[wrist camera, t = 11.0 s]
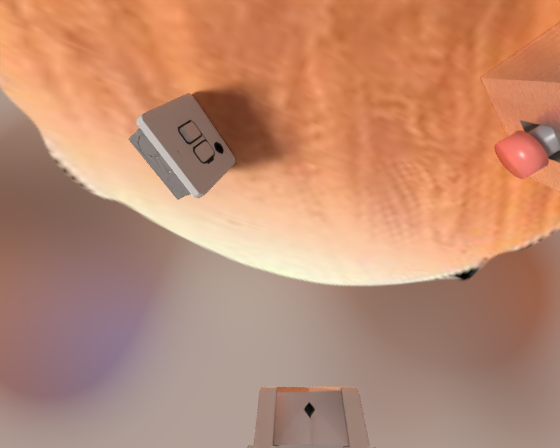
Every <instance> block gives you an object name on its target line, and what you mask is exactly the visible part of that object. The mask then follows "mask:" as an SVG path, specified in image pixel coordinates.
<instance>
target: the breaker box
mask: <svg viewBox="0 0 560 448" xmlns="http://www.w3.org/2000/svg"><path fill="white" fill-rule="evenodd" d="M480 79H481V81H482V83H483V85H484V87H485V89H486V92H487V94H488V96H489V98H490V100H491V102H492V104H493V107H494V109H495V111H496V113H497V115H498V117H499V119H500V122H501V124H502V126H503V128H504V130H505V132H506V134H507V136H510V135H511V134H513V133H514V132H516V131H524V132H526V133H528V132H530V131H531V130H533V129H534V128H536V127H538V126H539V125H543V126H547V127H552V129H553V131H554V134H555V136H556V139H557V141H558V144H559V146H560V22H559V23H558V24H556V25H555V26H553V27H552V28H551V29H549V30H548V31H546V32H545V33H543V34H542V35H541V36H539V37H538V38H536V39H535V40H533V41H532V42H531V43H529V44H528V45H526V46H525V47H524V48H522V49H521V50H519V51H518V52H516V53H515V54H514V55H512V56H511V57H509V58H508V59H506V60H505V61H504V62H502V63H501V64H499V65H498V66H497V67H495V68H494V69H492V70H491V71H489V72H488V73H487V74H485V75H484V76H482V77H481V78H480ZM548 159H549V163H548V165H547V166H546V167H544V168H543V169H541V170H539V171H537V172H536V173H534V174H532V175H530V176H529V178H531V179H533V180H535V181H537V182H539V183H542V184H544V185H546V186H548V187H550V188H552V189H554V190H556V191H558V192H560V150H559V151H557V152H555V153H554V154H552V155H550V156H549V157H548Z"/></svg>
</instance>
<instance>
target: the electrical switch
mask: <svg viewBox="0 0 560 448" xmlns="http://www.w3.org/2000/svg"><path fill="white" fill-rule="evenodd" d="M136 123H137V125H138V126H139V127H140V128H139V129H138V130H137V131H136V133H135V134H134V135H132V136H131V137H130V138H129V140H130V142H131V143H132V144H133V145H134V147H135V148H136V149H137V150H138V151H139V153H140V154H141V155H142V156H143V158H144V159H145V160H146V161H147V163H148V164H149V165H150V166H151V167H152V169H153V170H154V171H155V172H156V174H157V175H158V176H159V177H160V179H161V180H162V181H163V182H164V183H165V185H166V186H167V187H168V188H169V190H170V191H171V192H172V193H173V195H174V196H175V197H176V198H177V200H178V199H180V198H182V197H184V196H186V195H190V194H192V196H193V197H196V198H200V197H202V196H203V195H205V194H206V193H207V192H208V191H209V190H210V189H211V188H212V187H213V186H214V185H215V183H216V182H217V181H218V180H219V179H220V178H221V177H222V176H223V175H224V174H225V173H226V172H227V171H228V170H229V169H230V168H231V167H232V166H233V165H234V164H235V157H234V155H233V154H232V152H231V151H230V150H229V148H228V147H227V145H226V144H225V142H224V141H223V139H222V138H221V136H220V135H219V133H218V132H217V130H216V129H215V127H214V126H213V124H212V123H211V121H210V120H209V119H208V117H207V116H206V114H205V113H204V111H203V110H202V108H201V107H200V105H199V104H198V102H197V101H196V99H195V98H194V97H193V96H192V95H190V94H189V93H188V94H186V95H183V96H181V97H179V98H177V99H174V100H172V101H170V102H168V103H166V104H164V105H161V106H159V107H157V108H155V109H153V110H150V111H148V112H146V113H144V114H142V115H141V116H139V117H138V118H137V121H136ZM145 135H146V136H145ZM138 140H139V141H138ZM153 155H154V156H153ZM157 157H158V158H157ZM169 171H172V172H170V173H169ZM168 173H169V174H168ZM173 189H174V190H173Z"/></svg>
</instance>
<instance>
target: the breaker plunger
mask: <svg viewBox="0 0 560 448" xmlns="http://www.w3.org/2000/svg"><path fill="white" fill-rule="evenodd" d="M559 150H560V146H559V144H558V141H557V139H556V136H555V134H554V131H553V129H552V127H547V126H543V125H539V126H538V127H536V128H534V129H533V130H531V131H530V132H528V133H526V132H524V131H516V132H514V133H513V134H511V135H510V136H508V137H506V138H505V139H503V140H502V141H500V142H498V143H497V144H496V145H495V152H496V154H497V156H498V158H499V160H500V161H501V163H502V164H503V165H504V166H505V168H506V169H507V170H508V171H509V172H511V173H512V174H513V175H514V176H516V177H518V178H520V179H525V178H527V177H529V176H530V175H532V174H534V173H536V172H537V171H539V170H541V169H543V168H544V167H546V166H547V165H548V163H549V159H548V157H549V156H550V155H552V154H554V153H555V152H557V151H559Z"/></svg>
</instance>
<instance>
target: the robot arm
mask: <svg viewBox="0 0 560 448" xmlns="http://www.w3.org/2000/svg"><path fill="white" fill-rule="evenodd" d="M247 448H376V447H370V444H369V439H368V434H367V429H366V424H365V419H364V414H363V409H362V404H361V399H360V394H359V390H358V388H357V387H339V386H333V387H332V386H331V387H261V389H260V392H259V400H258V409H257V418H256V428H255V437H254V445H251V446H248V447H247Z"/></svg>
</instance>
